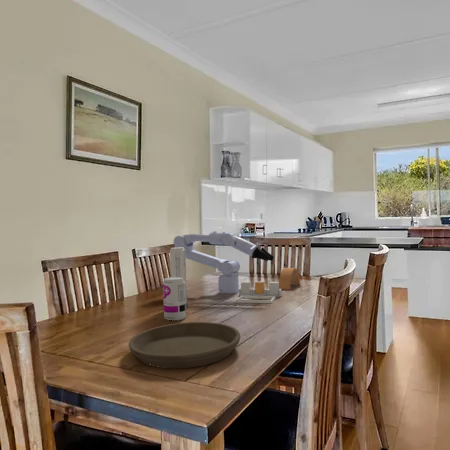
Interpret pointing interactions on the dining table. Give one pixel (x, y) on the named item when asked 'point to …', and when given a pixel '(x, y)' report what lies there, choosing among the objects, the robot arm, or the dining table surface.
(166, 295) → the supplement can
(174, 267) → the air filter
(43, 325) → the dining table surface
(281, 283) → the arch
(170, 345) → the plant saucer
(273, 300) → the tray
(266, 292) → the fuse block
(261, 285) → the block
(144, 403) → the dining table surface
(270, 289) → the block
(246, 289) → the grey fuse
